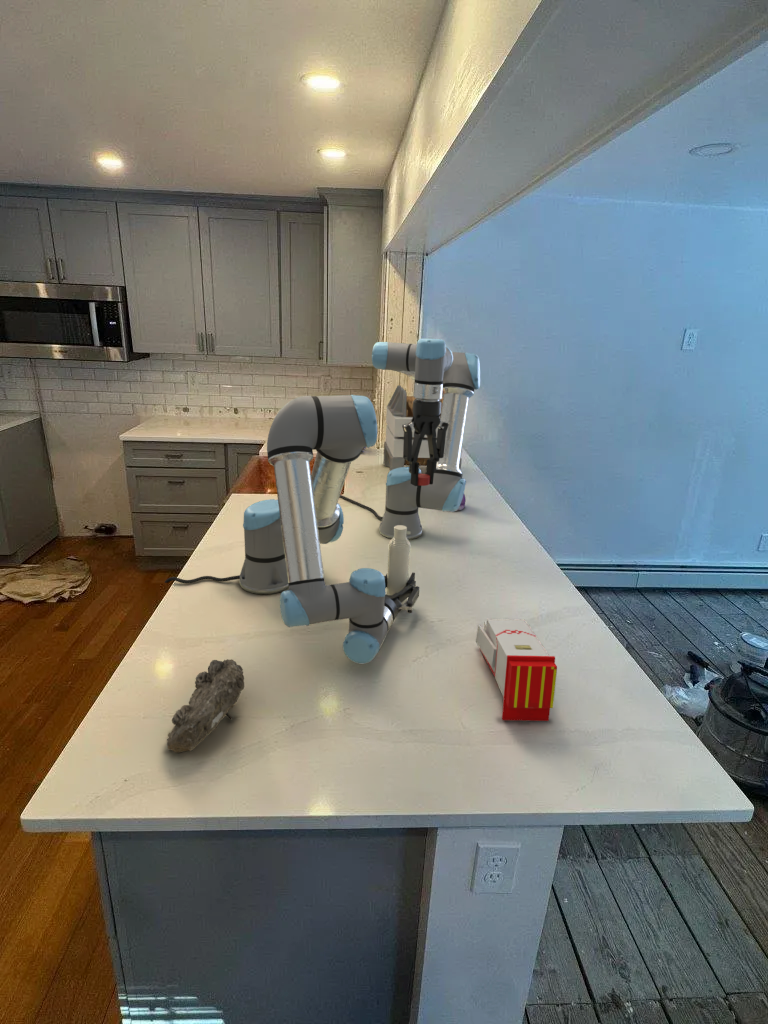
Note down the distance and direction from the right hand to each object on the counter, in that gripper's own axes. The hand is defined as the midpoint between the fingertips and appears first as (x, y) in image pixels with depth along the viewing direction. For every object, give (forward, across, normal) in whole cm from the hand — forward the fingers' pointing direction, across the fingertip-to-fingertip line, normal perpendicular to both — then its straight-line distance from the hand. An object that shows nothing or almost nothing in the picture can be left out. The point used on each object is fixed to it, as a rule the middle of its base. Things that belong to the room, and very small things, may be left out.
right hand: (421, 483), depth 158 cm
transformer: (+29, +60, +97) cm, 118 cm away
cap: (-2, 0, 0) cm, 2 cm away
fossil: (+29, -66, -36) cm, 81 cm away
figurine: (+29, +47, +48) cm, 73 cm away
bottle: (+29, -13, -12) cm, 34 cm away
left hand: (+23, -10, -8) cm, 26 cm away
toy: (+29, -6, -50) cm, 59 cm away
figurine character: (+29, +51, +146) cm, 158 cm away
